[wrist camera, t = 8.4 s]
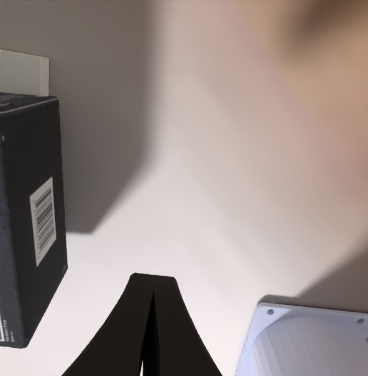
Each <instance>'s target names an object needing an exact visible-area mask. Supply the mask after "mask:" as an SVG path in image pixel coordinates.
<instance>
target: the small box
mask: <svg viewBox="0 0 368 376" xmlns="http://www.w3.org/2000/svg"><path fill="white" fill-rule="evenodd" d="M67 269H68V264H67V248H66V229H65V211H64V194H63V175H62V155H61V134H60V116H59V100H58V98H57V97H53V96H37V95H26V94H16V93H4V92H0V346H2V347H11V348H21V349H22V348H26V347H27V346H28V344H29V342H30V340H31V338H32V336H33V334H34V332H35V331H36V329H37V327H38V325H39V323H40V321H41V319H42V317H43V315H44V313H45V312H46V310H47V308H48V306H49V304H50V302H51V300H52V298H53V296H54V294H55V292H56V290H57V288H58V286H59V285H60V283H61V281H62V279H63V277H64V275H65V273H66V271H67Z"/></svg>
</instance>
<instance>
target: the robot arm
mask: <svg viewBox="0 0 368 376" xmlns="http://www.w3.org/2000/svg"><path fill="white" fill-rule="evenodd" d="M270 309H272V310H271V311H268V310H270ZM142 361H143V376H222V374H221V373H220V371H219V369H218V368H217V366H216V364H215V363H214V361H213V359H212V358H211V356H210V354H209V352H208V351H207V349H206V347H205V345H204V343H203V341H202V340H201V338H200V336H199V334H198V332H197V330H196V328H195V326H194V324H193V321H192V319H191V317H190V315H189V313H188V311H187V308H186V306H185V303H184V301H183V298H182V296H181V293H180V290H179V287H178V284H177V281H176V279H175V278H174V277H169V276H159V275H150V274H141V273H134V274H132V275H130V278H129V281H128V283H127V286H126V288H125V290H124V292H123V293H122V295H121V297H120V299H119V300H118V302H117V304H116V305H115V307H114V308H113V310H112V312H111V313H110V315H109V316H108V318H107V319H106V321H105V322H104V324H103V325H102V326H101V328H100V329H99V330H98V332H97V333H96V334H95V336H94V337H93V338H92V340H91V341H90V342H89V344H88V345H87V346H86V348H85V349H84V350H83V351H82V353H81V354H80V355H79V356H78V357H77V359H76V360H75V361H74V362H73V363H72V364H71V366H70V367H69V368H68V369H67V370H66V371H65V372H64V374H63V375H62V376H140V372H141V367H142ZM235 376H368V314H367V313H357V312H348V311H339V310H330V309H320V308H311V307H302V306H292V305H283V304H274V303H260V304H258V305H257V307H256V309H255V313H254V316H253V319H252V322H251V325H250V328H249V331H248V335H247V338H246V341H245V344H244V347H243V350H242V353H241V357H240V360H239V363H238V366H237V369H236V372H235Z"/></svg>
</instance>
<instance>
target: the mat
mask: <svg viewBox="0 0 368 376" xmlns="http://www.w3.org/2000/svg"><path fill="white" fill-rule="evenodd" d="M0 92H4V93H16V94H26V95H37V96H49V58H46V57H40V56H35V55H29V54H23V53H18V52H12V51H6V50H1V49H0Z"/></svg>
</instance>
